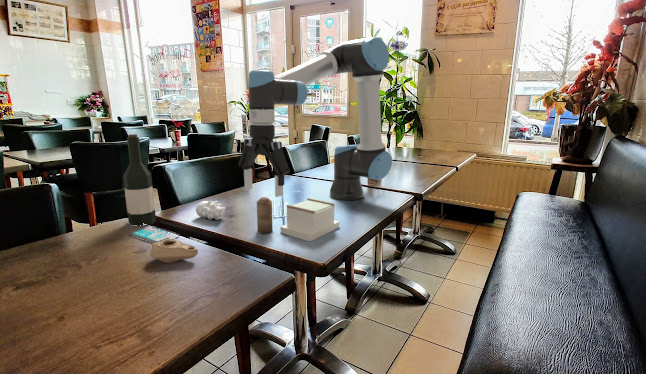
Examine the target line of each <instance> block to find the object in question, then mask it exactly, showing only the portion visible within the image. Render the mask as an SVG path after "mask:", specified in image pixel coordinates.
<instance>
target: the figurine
mask: <svg viewBox="0 0 646 374" xmlns="http://www.w3.org/2000/svg"><path fill="white" fill-rule="evenodd" d="M226 210H227V209H226V207H225V206H223V204H222V203H219V200H215V201H211V200H209V201H207V200H204V201H200V202H199V203H198V204H197V205H196V206H195V212H196V215H197V216H198V217H200V218H203V219H208V220H213V219H214V220H215V221H218V220H220V219H221V218H222V216H223V215H224V212H225V211H226Z"/></svg>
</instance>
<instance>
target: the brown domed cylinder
mask: <svg viewBox="0 0 646 374" xmlns="http://www.w3.org/2000/svg"><path fill="white" fill-rule="evenodd" d="M256 218H257V219H256V224H257V233H259V234H261V235H262V234H263V235H265V234H271V233H272V232H274V231H273V228H274V227H273V201H272V200H271V199H270V198H269V197H267V196H263V197H260V198H259V199H258V200H256Z"/></svg>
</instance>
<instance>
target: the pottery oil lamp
mask: <svg viewBox="0 0 646 374" xmlns="http://www.w3.org/2000/svg"><path fill="white" fill-rule="evenodd" d="M198 254H199V251H198V248H197V247H196V246H194V245H190V244H187V243H185V242H183V241H181V240H177V239H165V240H163V241H161V242H157V243H153V244H152V243H151V249H150V250H149V251H148V256H150V257H151V258H152V259H155V260H158V261H160V262H162V263H168V264H169V263H176V262H178V261H179V260H180V261H181V260H188V259H189V260H190V259H192V258H193V259H194V257H196V256H197V255H198ZM177 260H178V261H177ZM175 261H176V262H175Z"/></svg>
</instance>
